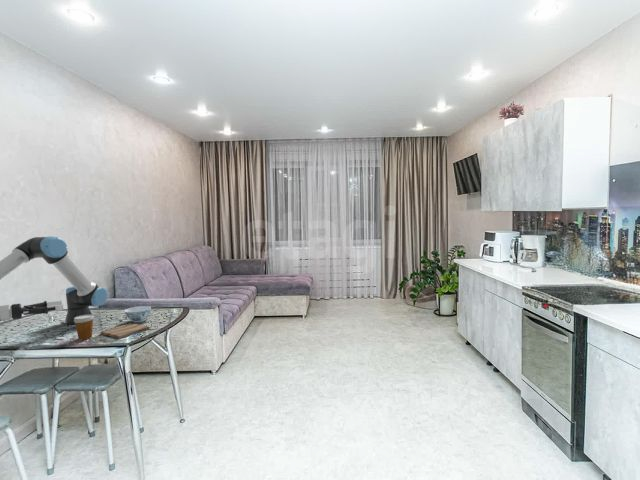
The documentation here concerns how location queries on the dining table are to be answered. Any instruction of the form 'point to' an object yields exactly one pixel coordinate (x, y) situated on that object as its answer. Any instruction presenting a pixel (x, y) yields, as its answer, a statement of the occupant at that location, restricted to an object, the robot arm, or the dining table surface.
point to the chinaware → (138, 313)
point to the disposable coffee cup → (84, 326)
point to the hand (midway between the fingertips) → (62, 304)
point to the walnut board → (125, 330)
